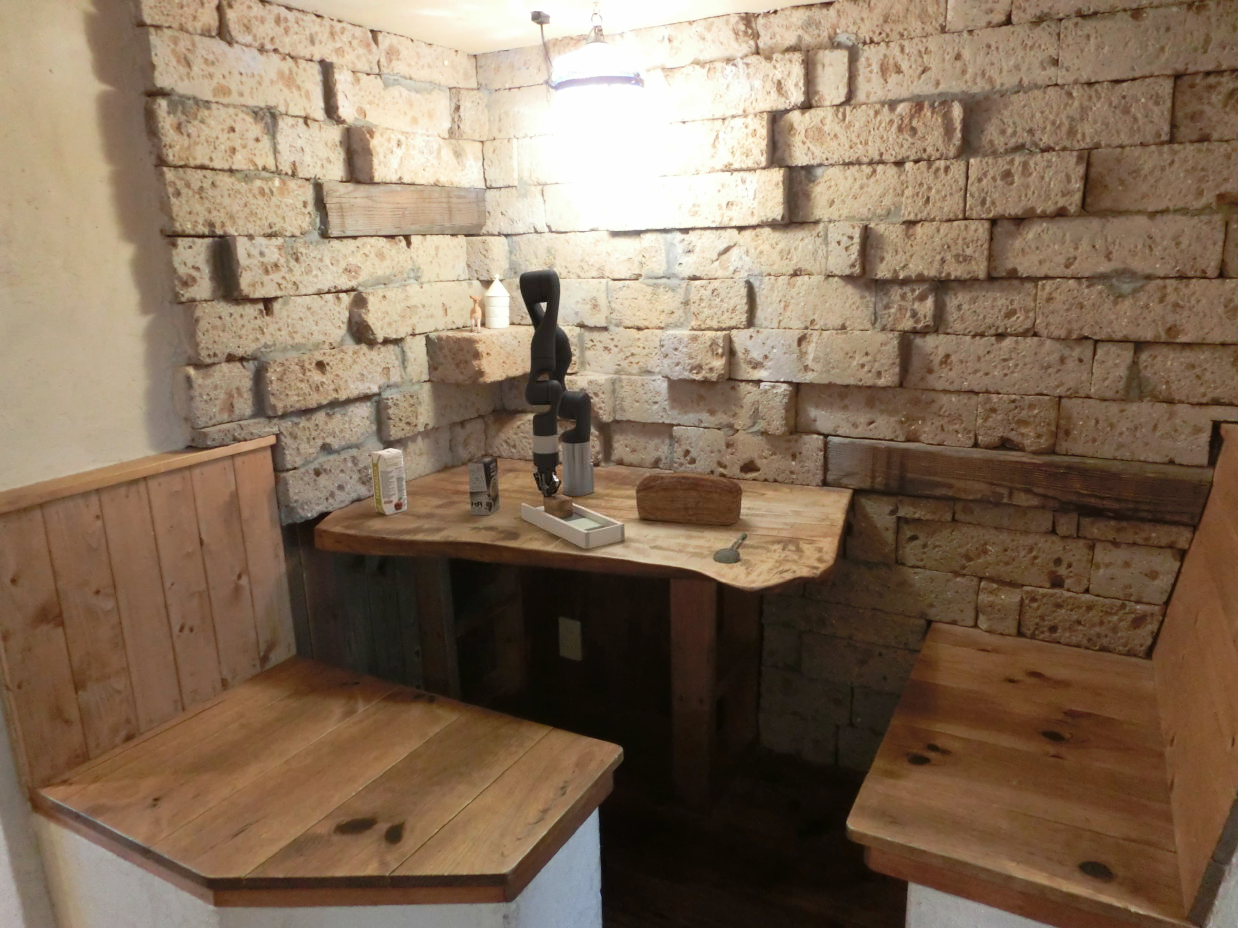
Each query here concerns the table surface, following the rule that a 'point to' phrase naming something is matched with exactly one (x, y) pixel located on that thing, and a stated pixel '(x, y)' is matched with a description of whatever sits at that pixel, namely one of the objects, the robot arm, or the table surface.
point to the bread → (689, 498)
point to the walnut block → (558, 506)
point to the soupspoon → (729, 553)
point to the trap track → (577, 526)
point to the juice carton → (388, 481)
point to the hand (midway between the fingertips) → (548, 506)
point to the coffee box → (483, 485)
